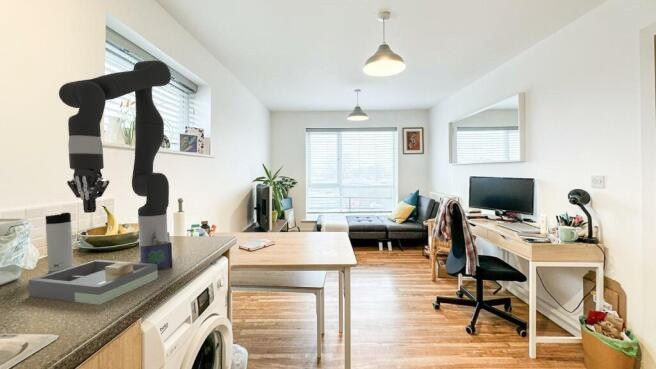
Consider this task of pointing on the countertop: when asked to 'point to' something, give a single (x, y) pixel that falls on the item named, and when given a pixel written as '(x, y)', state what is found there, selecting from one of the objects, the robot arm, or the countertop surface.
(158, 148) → the robot arm
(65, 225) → the travel mug
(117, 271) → the maple cube
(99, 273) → the tray
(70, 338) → the countertop surface
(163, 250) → the flask
